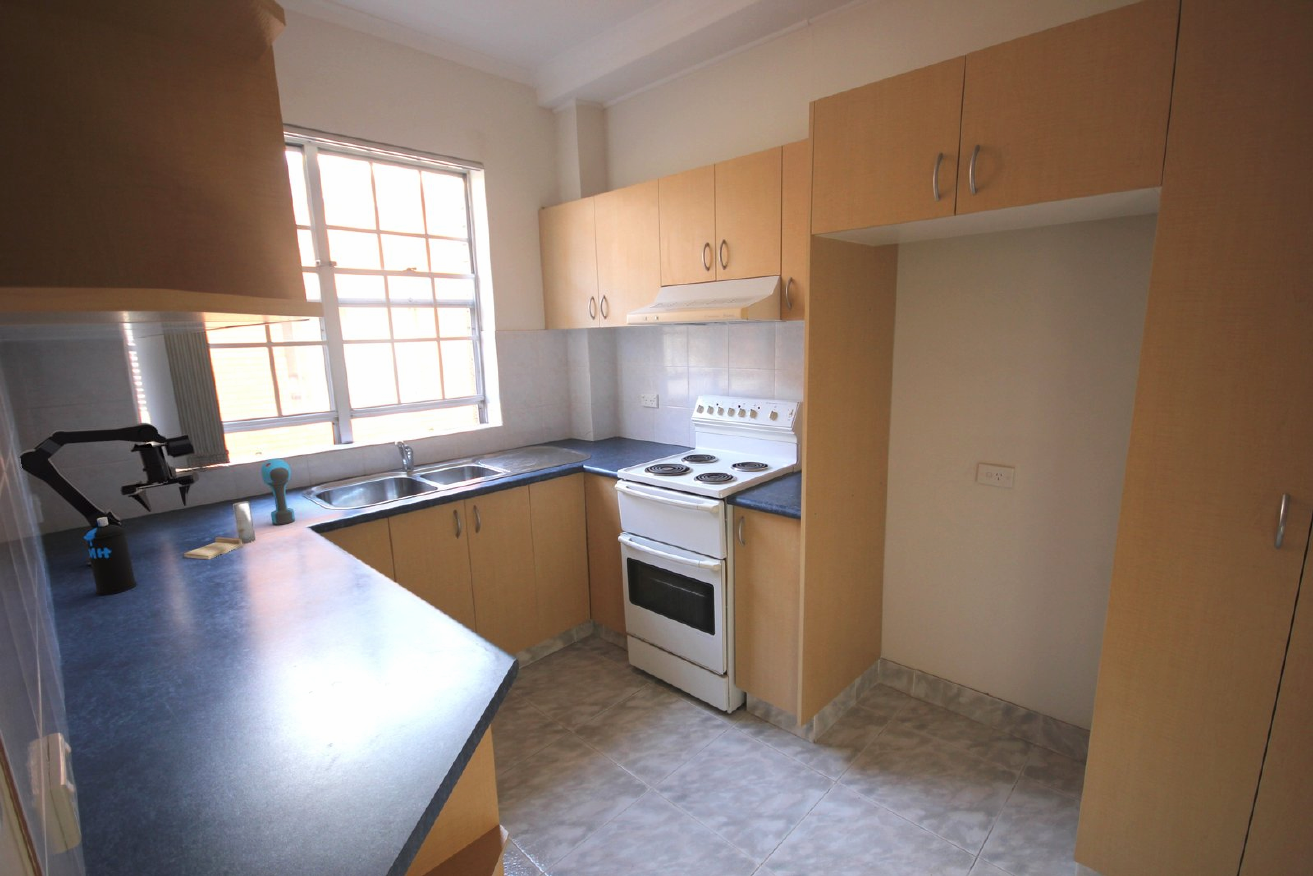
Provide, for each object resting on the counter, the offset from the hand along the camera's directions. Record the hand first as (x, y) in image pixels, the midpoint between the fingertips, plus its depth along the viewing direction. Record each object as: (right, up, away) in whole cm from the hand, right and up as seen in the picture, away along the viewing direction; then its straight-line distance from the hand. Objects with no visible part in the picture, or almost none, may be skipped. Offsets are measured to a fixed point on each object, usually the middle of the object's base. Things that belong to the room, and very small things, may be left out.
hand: (168, 508), depth 188 cm
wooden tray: (+18, -13, -4) cm, 22 cm away
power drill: (+19, -8, +28) cm, 35 cm away
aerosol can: (+11, -18, -30) cm, 37 cm away
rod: (+22, -11, +5) cm, 25 cm away
